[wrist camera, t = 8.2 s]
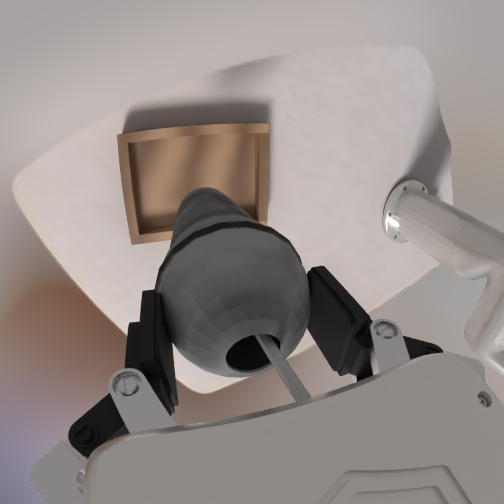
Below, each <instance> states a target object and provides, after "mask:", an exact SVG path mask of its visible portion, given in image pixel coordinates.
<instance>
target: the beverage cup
mask: <svg viewBox="0 0 504 504" xmlns="http://www.w3.org/2000/svg"><path fill="white" fill-rule="evenodd" d="M155 290H156V293H157V292H160V293H161V296H162V306H163V314H164V319H165V324H166V328H167V332H168V336H169V338H170V339H171V341H172V342H173V344H174V345H175V347H176V348H177V350H178V351H179V352H180V353H181V354H182V355H183V356H184V357H185V358H186V359H187V360H189V361H190V362H192V363H193V364H195V365H196V366H198V367H199V368H201V369H203V370H205V371H207V372H210V373H213V374H217V375H220V376H225V377H247V376H253V375H257V374H260V373H262V372H265V371H268V370H270V369H272V368H275V369H276V371H277V373H278V374H279V376H280V378H281V379H282V381H283V382H284V384H285V385H286V387H287V389H288V390H289V392H290V393H291V395H292V396H293V398H294V400H295V401H296V402H298V401H302V400H305V399H308V398H312V397H311V396H310V394H309V393H308V391H307V390H306V388H305V387H304V385H303V384H302V383H301V381H300V380H299V378H298V377H297V375H296V374H295V372H294V371H293V369H292V368H291V366H290V365H289V363H288V362H287V360H286V358H287V357H288V356H289V355H290V354H291V353H292V352H293V351H294V350H295V348H296V347H297V345H298V344H299V342H300V340H301V339H302V337H303V335H304V333H305V331H306V328H307V325H308V320H309V316H310V310H311V295H310V289H309V283H308V277H307V274H306V272H305V269H304V267H303V266H302V262H301V259H300V256H299V255H298V253H297V251H296V250H295V248H294V247H293V245H292V244H291V242H290V241H289V240H288V239H287V238H286V237H284V236H283V235H281V234H280V233H278V232H277V231H276V230H274V229H273V228H271V227H268V226H265V225H263V224H261V223H259V222H258V221H256V220H254V219H253V218H252V217H251V216H250V215H249V214H248V213H246V212H245V211H244V210H243V209H242V208H241V207H240V206H239V205H237V204H236V203H235V202H234V201H233V200H232V199H231V198H230V197H228V196H227V195H225V194H224V193H222V192H221V191H219V190H218V189H214V188H210V187H202V188H198V189H195V190H193V191H191V192H190V193H189V194H187V195H186V196H185V197H184V199H183V200H182V202H181V203H180V207H179V209H178V212H177V216H176V220H175V225H174V230H173V234H172V239H171V245H170V250H169V251H168V253H167V255H166V257H165V260H164V262H163V263H162V265H161V266H160V268H159V271H158V276H157V280H156V285H155Z"/></svg>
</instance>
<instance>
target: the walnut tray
mask: <svg viewBox="0 0 504 504" xmlns="http://www.w3.org/2000/svg"><path fill="white" fill-rule="evenodd" d="M117 140H118V152H119V163H120V172H121V180H122V188H123V196H124V202H125V209H126V215H127V221H128V227H129V233H130V238H131V243H132V245H134V244H142V243H150V242H158V241H166V240H171V239H172V234H173V230H174V225H175V220H176V216H177V212H178V209H179V207H180V203H181V202H182V200H183V199H184V197H185V196H186V195H187V194H189V193H190V192H191V191H193V190H195V189H198V188H202V187H210V188H214V189H218V190H219V191H221V192H222V193H224V194H225V195H227V196H228V197H230V198H231V199H232V200H233V201H234V202H235V203H236V204H237V205H239V206H240V207H241V208H242V209H243V210H244V211H245V212H246V213H248V214H249V215H250V216H251V217H252V218H253V219H254V220H256V221H258V222H259V223H261V224H263V225H265V226H267V212H268V162H269V123H222V124H202V125H188V126H177V127H167V128H158V129H149V130H142V131H135V132H128V133H122V134H118V135H117Z"/></svg>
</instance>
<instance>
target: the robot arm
mask: <svg viewBox="0 0 504 504" xmlns="http://www.w3.org/2000/svg"><path fill="white" fill-rule="evenodd" d="M383 226H384V230H385V232H386V234H387V236H388V237H389V238H390V239H392V240H393V241H395V242H397V243H404V242H407V241H409V242H411V243H412V244H414V245H415V246H416V247H418V248H419V249H421V250H422V251H424V252H425V253H427V254H428V255H429V256H431V257H432V258H434V259H435V260H436V261H438V262H439V263H440V264H442V265H443V266H445V267H446V268H447V269H449V270H450V271H451V272H453V273H454V274H455V275H457V276H458V277H460V278H462V279H465V280H474V279H479V278H483V277H487V283H486V285H485V288H484V290H483V293H482V295H481V296H480V298H479V300H478V302H477V304H476V306H475V308H474V310H473V312H472V313H471V315H470V317H469V319H468V321H467V323H466V326H465V329H464V338H465V341H466V343H467V345H468V346H469V348H470V349H471V350H472V351H473V352H474V353H475V354H476V355H477V356H479V357H480V358H481V359H482V360H484V361H485V362H486V363H487V364H489V365H490V366H491V367H493V368H494V369H495V370H497V371H498V372H499V373H500V374H502V375H503V376H504V233H503V232H501V231H499V230H497V229H495V228H493V227H491V226H489V225H488V224H486V223H484V222H482V221H480V220H478V219H477V218H475V217H473V216H471V215H469V214H467V213H465V212H464V211H462V210H460V209H458V208H456V207H454V206H452V205H450V204H448V203H446V202H444V201H442V200H440V199H438V198H435V197H433V196H431V195H429V192H428V190H427V188H426V186H425V185H424V184H423V183H421V182H419V181H417V180H413V179H409V180H405V181H403V182H401V183H400V184H399V185H398V186H397V187H396V188H395V189H394V190H393V191H392V193H391V194H390V196H389V198H388V200H387V202H386V205H385V209H384V214H383ZM307 277H308V283H309V289H310V295H311V310H310V316H309V320H308V325H307V329H308V331H309V332H310V334H311V335H312V337H313V339H314V340H315V342H316V344H317V345H318V347H319V348H320V350H321V352H322V353H323V355H324V357H325V358H326V360H327V361H328V363H329V365H330V366H331V368H332V369H333V370H334V371H337V372H338V374H339V375H340V376H343V375H346V374H348V373H350V374H352V378H353V384H350V385H347V386H345V387H342V388H339V389H336V390H333V391H330V392H327V393H324V394H321V395H318V396H315V397H312V398H308V399H305V400H302V401H298V402H295V403H291V404H287V405H284V406H280V407H276V408H272V409H268V410H264V411H260V412H255V413H251V414H246V415H241V416H236V417H231V418H226V419H220V420H214V421H208V422H202V423H196V424H188V425H181V426H177V425H176V424H175V422H174V421H173V419H172V418H171V415H172V414H171V413H175V412H174V411H175V410H174V406H178V396H177V389H176V379H175V369H174V358H173V346H172V341H171V339H170V338H169V336H168V332H167V328H166V324H165V319H164V314H163V306H162V296H161V293H160V292H157V293H156V290H155V289H154V290H146V291H143V292H142V301H141V312H140V322H131V323H129V326H128V335H127V346H126V357H125V369H122V370H119V371H117V372H116V373H114V374H113V375H112V376H111V378H110V380H109V383H108V388H109V392H110V393H109V394H108V395H107V396H105V397H104V398H103V399H102V400H101V401H100V402H98V403H97V404H96V405H95V406H94V407H92V408H91V409H90V410H89V411H88V412H87V413H85V414H84V415H83V416H82V417H81V418H79V419H78V420H77V421H76V422H75V423H74V424H73V425H72V426H71V428H70V430H69V435H68V439H67V440H66V441H65V442H63V441H62V440H61V441H60V442H59V443H58V444H57V445H56V446H55V447H54V448H53V449H51V450H50V451H49V452H48V453H47V454H46V455H45V456H43V457H42V459H40V460H39V461H38V462H37V463H36V464H35V465H34V466H33V467H32V469H31V472H30V476H31V480H32V482H33V484H34V486H35V487H36V488H37V490H38V491H39V492H40V494H41V495H42V496H43V498H44V499H45V500H46V501H47V502H48V504H504V405H503V404H502V403H501V401H500V400H499V399H498V398H497V396H496V395H495V394H494V392H493V391H492V390H491V389H490V387H489V386H488V385H487V384H486V383H485V370H484V367H483V365H482V364H481V363H480V362H479V361H478V360H475V359H472V358H468V357H464V356H460V355H457V354H453V353H449V352H446V353H444V352H443V350H442V349H441V348H440V347H439V346H437V345H435V344H432V343H428V342H425V341H420V340H417V339H413V338H410V337H406V336H403V335H402V332H401V330H400V328H399V326H398V325H397V324H396V323H394V322H392V321H390V320H387V319H378V320H375V321H372V320H371V319H370V316H369V315H368V314H367V313H366V312H365V310H364V309H363V308H362V307H361V306H360V305H359V304H358V303H357V301H356V300H355V299H354V298H353V297H352V296H351V295H350V294H349V293H348V291H347V290H346V289H345V288H344V287H343V286H342V285H341V284H340V283H339V282H338V281H337V279H336V278H335V277H334V276H333V275H332V274H331V273H330V272H329V271H328V270H327V269H326V268H325V267H324V266H318V267H312V268H311V270H310V271H308V273H307Z"/></svg>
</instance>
